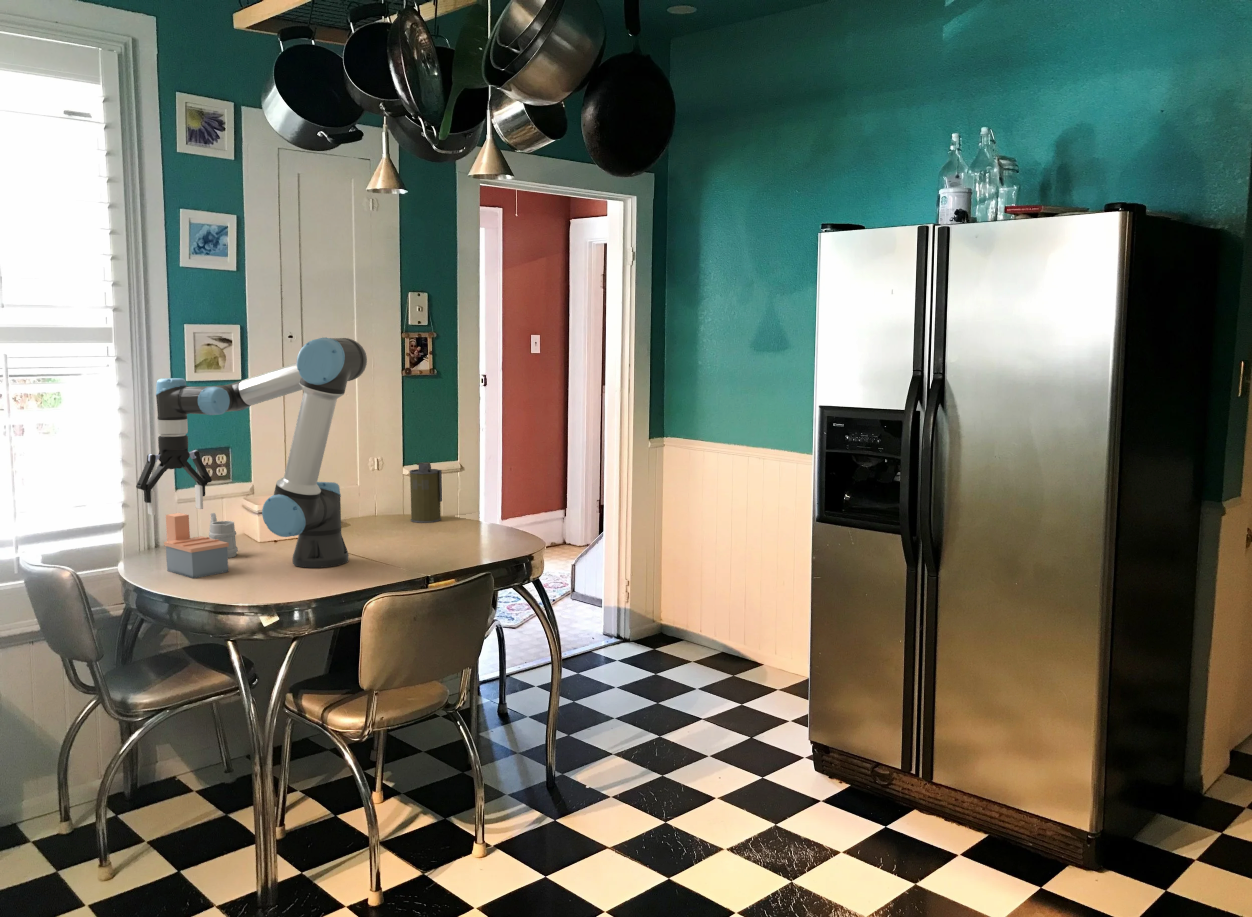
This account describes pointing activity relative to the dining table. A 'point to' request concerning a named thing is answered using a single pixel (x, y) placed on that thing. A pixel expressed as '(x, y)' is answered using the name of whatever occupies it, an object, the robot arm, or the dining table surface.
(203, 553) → the tub
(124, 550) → the dining table surface
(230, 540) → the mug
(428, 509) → the canister
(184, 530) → the lid
